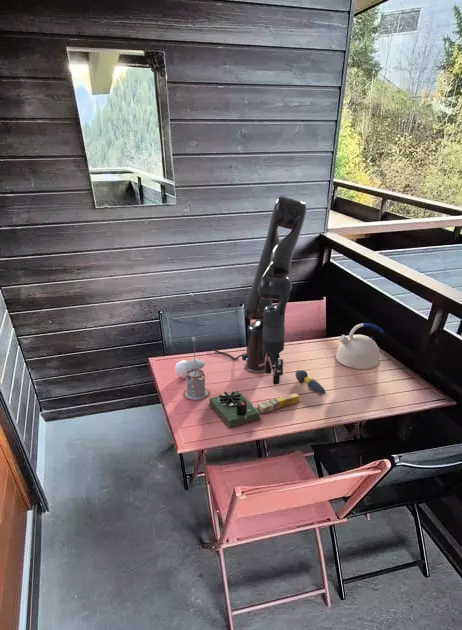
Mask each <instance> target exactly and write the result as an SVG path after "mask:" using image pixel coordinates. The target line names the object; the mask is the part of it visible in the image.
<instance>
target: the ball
mask: <svg viewBox="0 0 462 630" xmlns="http://www.w3.org/2000/svg"><path fill="white" fill-rule="evenodd" d="M187 361H188V360H185V359H183V360H179V361H178V362H177V363H176V364H175V367H174V372H175V374H176V375H177V377H179V378H182V379H186V375H187V374H186V373H187V367H186V366H185V363H186V362H187ZM189 370H192V369H189V368H188V371H189Z"/></svg>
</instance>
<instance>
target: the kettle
mask: <svg viewBox="0 0 462 630" xmlns="http://www.w3.org/2000/svg"><path fill="white" fill-rule="evenodd" d="M362 327H365V328H367V327H368V328H371V329H374V330H377V331H378V332H379V333H380V334H384V333H385V331H384V330H383V329H382V328H381V327H380V326H378V325H375V324H373V323H367V322H366V323H364V322H363V323H359V324H356V325H355V326H353V328H351V329H350V331H349V333H348V337H347V336H346V335H345V334H341V336H339V337H338V341H339V342H340V344H339V346H338V347H337V352H336V354H335V359H336V361H337V362H338V363H339V364H341V365H342V366H345V367H348V368H351V369H357V370H368V369H372V368H374V367H376V366H378V365H379V363H380V355H381V354H380V353H381V352H380V348H379V346H378V344H377V343H376V341H375V338H374V337H373V336H367V335H364V334H355V332H356V331H357V330H358V329H360V328H362Z"/></svg>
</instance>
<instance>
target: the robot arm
mask: <svg viewBox="0 0 462 630" xmlns="http://www.w3.org/2000/svg"><path fill="white" fill-rule="evenodd" d="M306 215H307V205H306V202H303V201H301V200H297V199H294V198H291V197H287V196H283V195H280V196H278V198H277V199H276V200H275V202H274V205H273V209H272V213H271V217H270V221H269V226H268V230H267V235H266V239H265V242H264V245H263V247H262V252H261V254H260V257H259V261H258V265H257V269H256V271H255V276H254V279H253V282H252V285H251V287H250V290H249V292H248V294H247V297H246V298H245V299H246V300H245V302H244V309H243V310H244V315H245V317H246V319H248V320H250V321H253V322H252V323H250V324H249V325H248V327H247V346H246V352H245V353H241V354H239V355H238V356H237V357H233V355H231V354H230V353H226V352H223V351H219V350H217V349H216V348H214V347H210V348H209V349H208V350H209V351H211V350H213V351H214V352H216V353H218V354H221V355H224V356H227V357H229V358H231V359H232V360H234V361H235V360H238V359H239V358H241V359H242V361H245V367H246V368H245V369H246V370H247V371H249V372H251V373H254V374H255V373H258V374H259V373H265V374H266V375H269V374H272V384H273V385H274V386H275V385H276V386H277V385H279V384H280V379H281V376H283V375H284V359H283V358H281V356H280V353H283V351H284V349H285V337H286V336H285V335H286V329H285V328H286V327H285V321H286V320H285V319H286V310H287V309H286V308H287V305H288V301H289V299H290V296H291V293H292V290H293V284H292V281H291V279H290V278H289V277H288V275H289V274H290V271H291V266H292V261H293V256H294V252H295V249H296V246H297V244H298V241H299V238H300V235H301V232H302V229H303V226H304V222H305V219H306ZM279 227H280V228H283V229H287V230H290V232H289V233H287V235H285V237H283V238H282V239H281V240H280V236H279ZM272 300H274V301H277V300H278V301H279V302H277V303H273V301H272Z"/></svg>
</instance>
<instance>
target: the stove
mask: <svg viewBox="0 0 462 630" xmlns="http://www.w3.org/2000/svg"><path fill="white" fill-rule="evenodd" d="M233 392H234V394H236V395H238V394H240V395H241V396H240V397H241V400H245V401H246V402H247V413H246V414H245V415H242V416H241V415H237V414H236V406H235V407H226V406H223V405H221V404H220V403H219V395H216V396H213V397H209V401H208V402H209V406H210V407H211V408H212V409H213V410H214V411H215V413H216V414H217V415H218V417H220V418H221V420H222V421H223V423H225V424H226V426H227V427H228V428H233V427H237V426H240V425H244V424H247V423H250V422H254V421H258V420H260V418H261V411H260V410H259V409H258V408H256V407H255V406H254V405H253V404H252V403H251V402H250V401H249V400H248V399H247V398H246V397H245V396H244V395H243V394H242V393H241V392H240V391H239V390H236V391H233ZM227 393H228V392H227ZM228 394H232V392H229V393H228Z"/></svg>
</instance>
